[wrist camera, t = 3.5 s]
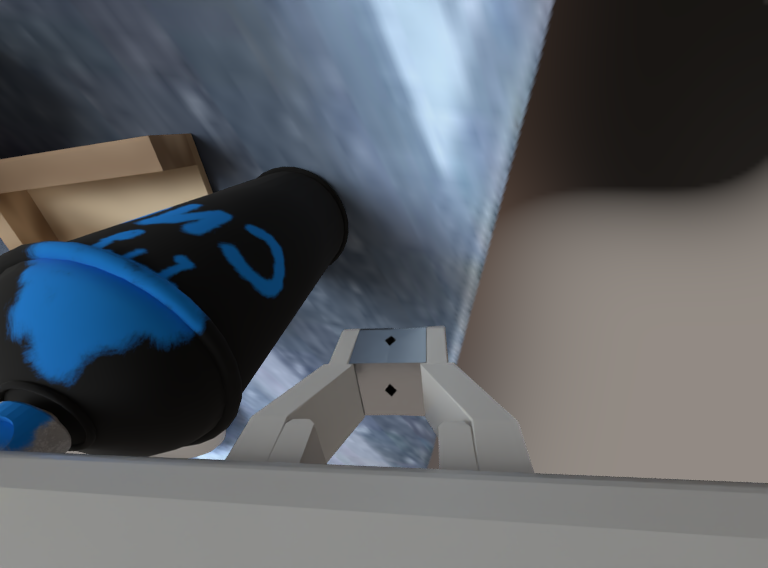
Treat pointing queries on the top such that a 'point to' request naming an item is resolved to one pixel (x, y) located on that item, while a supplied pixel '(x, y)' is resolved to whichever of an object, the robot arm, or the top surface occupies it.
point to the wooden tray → (96, 186)
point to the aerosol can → (158, 317)
